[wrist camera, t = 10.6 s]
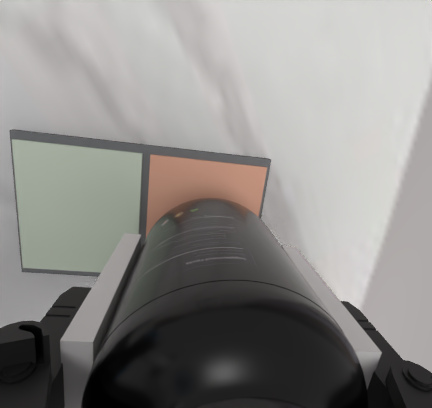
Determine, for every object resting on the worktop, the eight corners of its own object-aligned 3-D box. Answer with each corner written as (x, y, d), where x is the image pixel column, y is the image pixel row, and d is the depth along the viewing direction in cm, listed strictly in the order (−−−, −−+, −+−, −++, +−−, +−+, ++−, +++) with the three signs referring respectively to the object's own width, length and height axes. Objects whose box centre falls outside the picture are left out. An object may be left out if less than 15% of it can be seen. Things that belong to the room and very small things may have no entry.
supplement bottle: (290, 280, 15) (576, 753, 4) (179, 328, 16) (142, 892, 4) (243, 169, 13) (553, 475, 2) (117, 227, 14) (-281, 788, 2)
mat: (26, 268, 19) (19, 274, 19) (14, 129, 17) (6, 130, 16) (247, 281, 21) (249, 287, 21) (268, 158, 19) (272, 160, 18)
